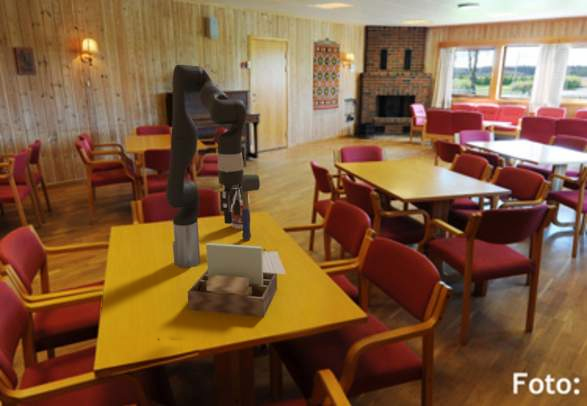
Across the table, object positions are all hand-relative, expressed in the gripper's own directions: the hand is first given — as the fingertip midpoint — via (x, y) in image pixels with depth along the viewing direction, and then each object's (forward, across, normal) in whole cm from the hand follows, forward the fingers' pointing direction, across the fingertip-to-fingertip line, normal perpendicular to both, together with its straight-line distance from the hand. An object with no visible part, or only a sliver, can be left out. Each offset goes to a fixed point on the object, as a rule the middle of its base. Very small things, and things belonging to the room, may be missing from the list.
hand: (232, 219), depth 136 cm
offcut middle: (+24, +6, 0) cm, 25 cm away
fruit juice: (+28, -73, -21) cm, 81 cm away
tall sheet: (+27, 0, 0) cm, 27 cm away
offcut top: (+21, +6, 0) cm, 22 cm away
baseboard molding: (+29, -26, +4) cm, 39 cm away
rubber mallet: (+28, -56, -13) cm, 64 cm away
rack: (+28, +1, 0) cm, 28 cm away
